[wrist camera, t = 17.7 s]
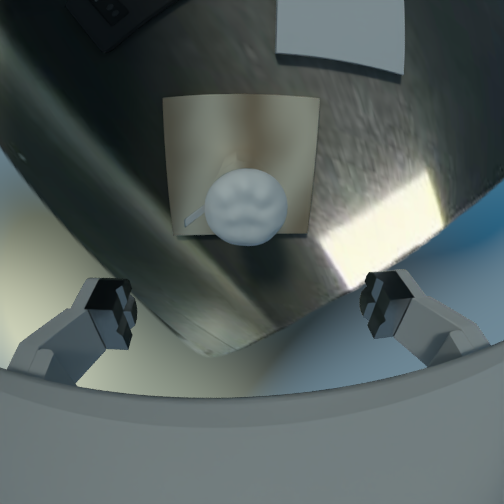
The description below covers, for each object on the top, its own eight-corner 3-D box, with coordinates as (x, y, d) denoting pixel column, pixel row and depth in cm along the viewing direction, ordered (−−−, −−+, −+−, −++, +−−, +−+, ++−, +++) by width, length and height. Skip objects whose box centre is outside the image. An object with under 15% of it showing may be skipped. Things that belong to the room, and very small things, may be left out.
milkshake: (203, 139, 21) (183, 178, 12) (272, 143, 21) (301, 184, 13) (202, 193, 23) (185, 262, 15) (266, 196, 24) (287, 265, 15)
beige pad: (174, 231, 26) (173, 235, 25) (164, 97, 19) (162, 97, 19) (305, 229, 27) (307, 233, 26) (316, 98, 20) (319, 98, 20)
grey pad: (274, 53, 18) (276, 52, 18) (276, -54, 12) (278, -57, 12) (398, 74, 19) (403, 74, 18) (397, -25, 13) (401, -27, 12)
